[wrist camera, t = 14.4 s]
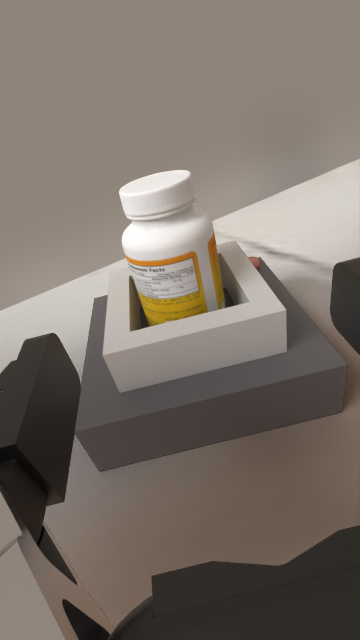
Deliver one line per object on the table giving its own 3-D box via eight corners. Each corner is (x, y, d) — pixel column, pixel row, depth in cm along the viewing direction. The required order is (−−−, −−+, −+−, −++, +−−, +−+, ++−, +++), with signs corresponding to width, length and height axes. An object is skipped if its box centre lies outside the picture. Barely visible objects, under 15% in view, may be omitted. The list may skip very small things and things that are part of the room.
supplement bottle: (189, 296, 26) (159, 166, 21) (244, 316, 23) (226, 164, 17) (136, 333, 24) (87, 195, 18) (189, 362, 20) (147, 201, 14)
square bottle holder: (99, 471, 20) (49, 394, 16) (109, 333, 31) (81, 268, 27) (341, 412, 20) (353, 319, 16) (262, 295, 31) (258, 224, 27)
